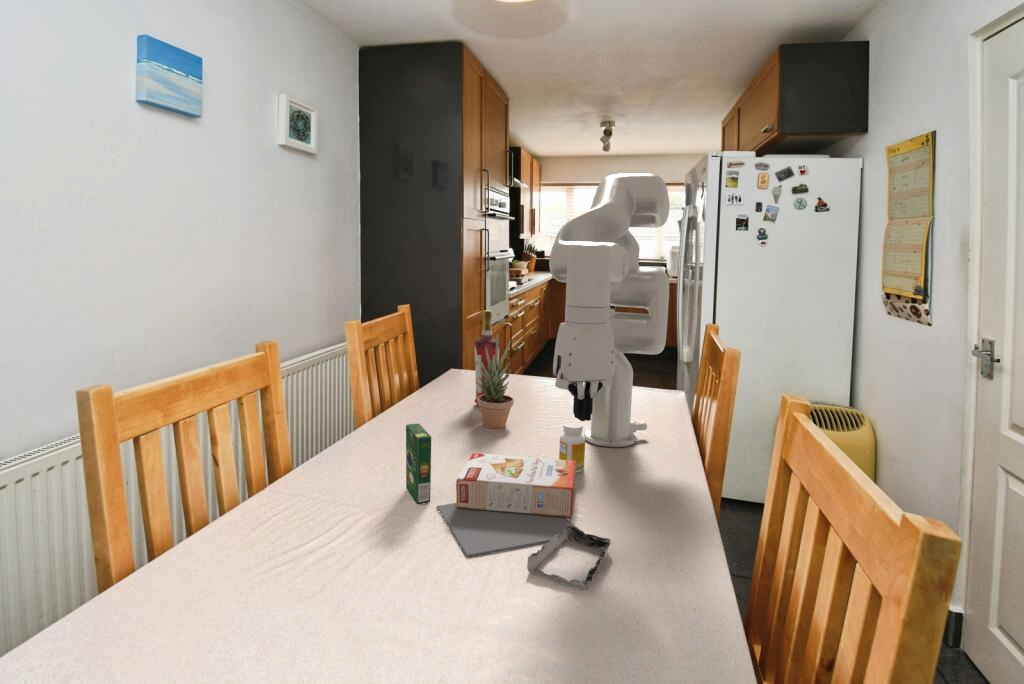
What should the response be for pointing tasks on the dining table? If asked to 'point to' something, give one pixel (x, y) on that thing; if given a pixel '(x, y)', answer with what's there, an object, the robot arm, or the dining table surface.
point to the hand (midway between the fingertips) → (582, 418)
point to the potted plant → (495, 392)
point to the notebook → (499, 528)
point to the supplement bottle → (573, 445)
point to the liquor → (484, 351)
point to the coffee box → (418, 463)
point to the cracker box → (517, 484)
